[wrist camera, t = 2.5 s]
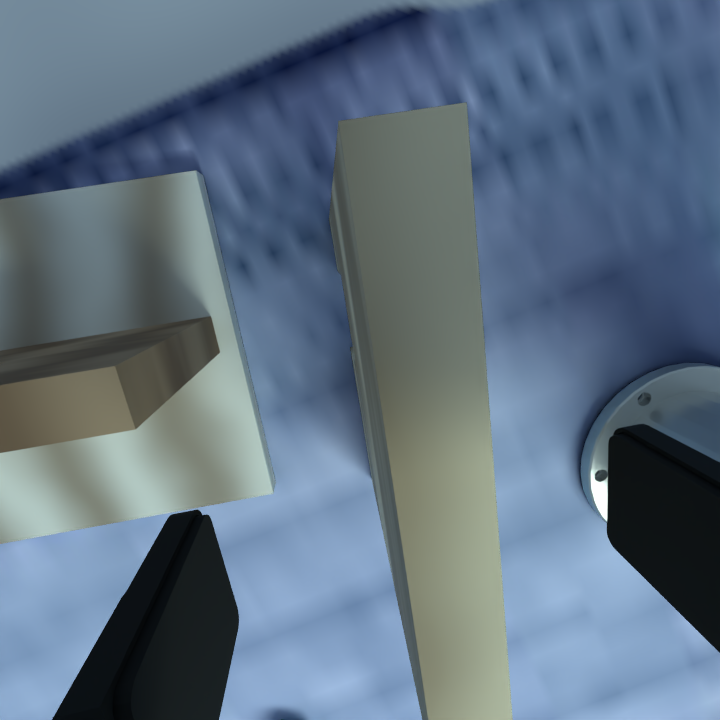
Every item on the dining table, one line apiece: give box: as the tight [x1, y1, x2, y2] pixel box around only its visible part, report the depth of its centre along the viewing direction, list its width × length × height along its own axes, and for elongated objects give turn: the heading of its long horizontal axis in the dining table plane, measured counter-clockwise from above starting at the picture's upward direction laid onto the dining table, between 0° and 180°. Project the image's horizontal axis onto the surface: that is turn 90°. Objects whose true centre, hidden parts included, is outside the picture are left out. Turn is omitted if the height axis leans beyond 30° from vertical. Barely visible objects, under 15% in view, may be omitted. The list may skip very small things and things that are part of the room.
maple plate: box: [329, 102, 512, 720], centre depth 16 cm, size 2×16×16 cm, turn 9°
